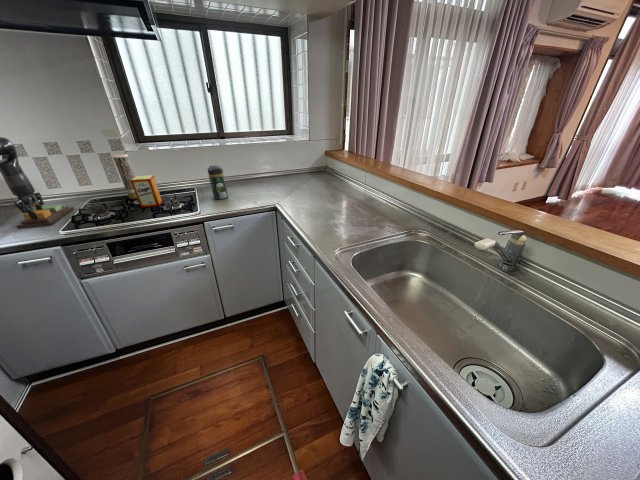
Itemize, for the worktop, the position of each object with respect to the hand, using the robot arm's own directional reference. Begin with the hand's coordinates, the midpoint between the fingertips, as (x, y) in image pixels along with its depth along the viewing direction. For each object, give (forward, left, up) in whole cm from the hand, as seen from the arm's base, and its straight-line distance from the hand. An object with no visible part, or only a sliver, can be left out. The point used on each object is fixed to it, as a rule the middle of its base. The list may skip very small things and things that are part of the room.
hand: (38, 216), depth 132 cm
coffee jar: (+85, +12, -3) cm, 86 cm away
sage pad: (0, +9, -1) cm, 9 cm away
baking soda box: (+48, +10, -3) cm, 49 cm away
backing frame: (0, +4, -3) cm, 5 cm away
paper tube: (+35, +25, -3) cm, 43 cm away
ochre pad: (0, 0, 0) cm, 0 cm away
